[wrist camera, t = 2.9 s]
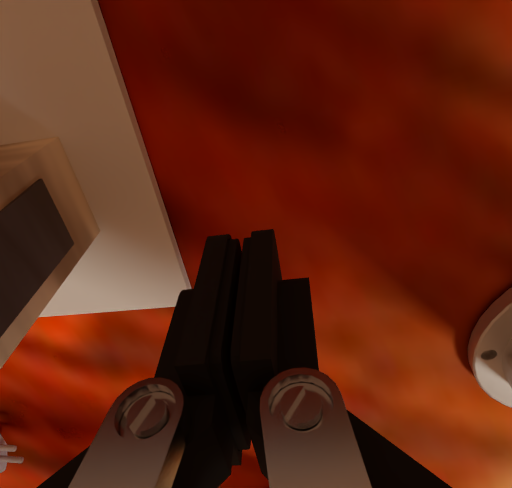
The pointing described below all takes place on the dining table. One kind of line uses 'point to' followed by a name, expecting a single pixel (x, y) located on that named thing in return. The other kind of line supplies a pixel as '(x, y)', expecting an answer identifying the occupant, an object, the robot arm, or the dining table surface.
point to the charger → (1, 454)
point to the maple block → (37, 232)
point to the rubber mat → (89, 152)
